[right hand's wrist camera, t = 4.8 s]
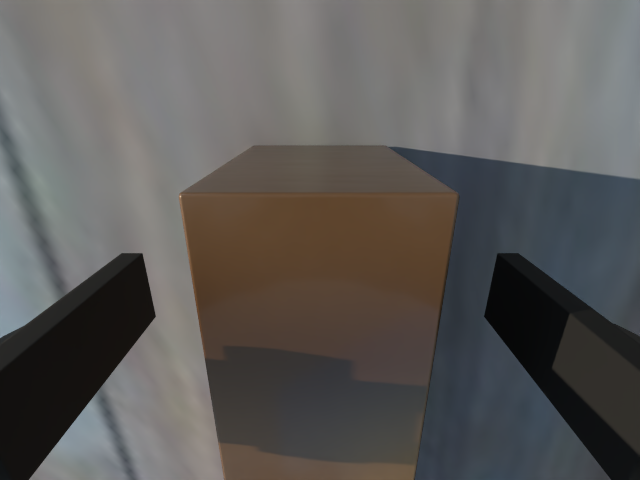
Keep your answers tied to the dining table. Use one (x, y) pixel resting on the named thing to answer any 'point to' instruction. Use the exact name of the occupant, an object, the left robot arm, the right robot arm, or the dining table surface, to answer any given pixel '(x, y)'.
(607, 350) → the right robot arm
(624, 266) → the dining table surface
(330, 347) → the beam
